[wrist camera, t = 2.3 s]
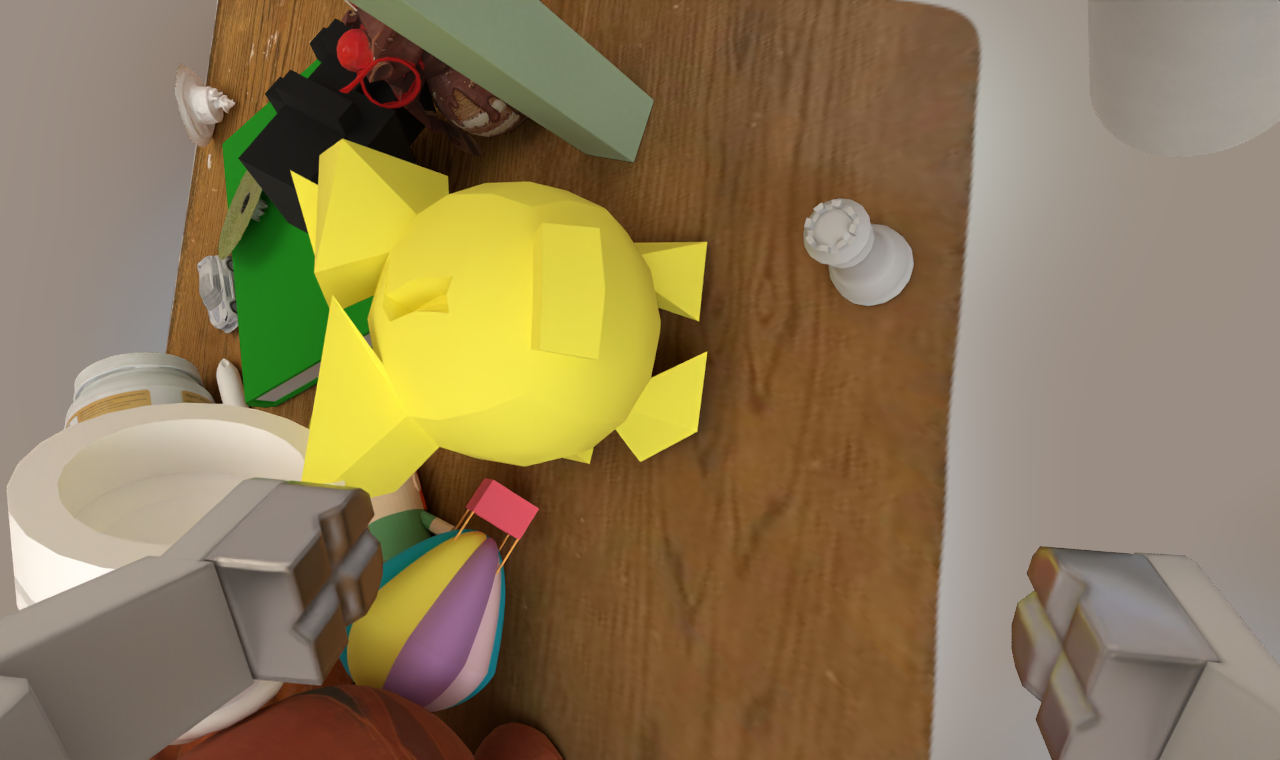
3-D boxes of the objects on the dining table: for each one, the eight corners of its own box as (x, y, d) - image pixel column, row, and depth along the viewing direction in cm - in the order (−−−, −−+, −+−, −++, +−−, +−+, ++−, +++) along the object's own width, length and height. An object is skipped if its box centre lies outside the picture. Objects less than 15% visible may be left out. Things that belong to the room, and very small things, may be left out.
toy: (344, -24, 52) (204, 131, 47) (444, 25, 51) (312, 188, 46) (389, 90, 63) (279, 224, 58) (472, 132, 62) (367, 272, 57)
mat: (248, 281, 65) (225, 272, 64) (232, 252, 74) (210, 244, 72) (300, 165, 64) (278, 154, 63) (277, 150, 73) (257, 140, 71)
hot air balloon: (465, 774, 42) (445, 712, 52) (601, 543, 46) (557, 527, 56) (291, 684, 39) (305, 638, 50) (451, 447, 44) (433, 450, 54)
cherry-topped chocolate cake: (496, 185, 57) (327, 100, 45) (458, 119, 61) (289, 23, 48) (578, 94, 54) (419, -25, 41) (532, 30, 57) (373, -99, 45)
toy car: (226, 338, 75) (196, 333, 73) (220, 269, 78) (190, 262, 75) (246, 324, 74) (216, 318, 71) (239, 254, 76) (210, 246, 73)
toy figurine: (478, 573, 56) (438, 428, 59) (457, 574, 52) (415, 418, 55) (379, 610, 56) (344, 463, 59) (350, 614, 52) (314, 455, 55)
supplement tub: (204, 562, 73) (182, 417, 80) (262, 506, 67) (233, 355, 74) (53, 575, 63) (42, 409, 70) (106, 510, 58) (89, 336, 64)
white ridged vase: (352, 416, 41) (320, 650, 48) (74, 389, 36) (85, 654, 43) (335, 576, 30) (297, 847, 37) (-64, 568, 25) (-19, 880, 33)
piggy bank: (495, 242, 57) (252, 144, 40) (725, 189, 47) (524, 29, 30) (487, 505, 54) (222, 513, 38) (730, 509, 44) (511, 523, 27)
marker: (225, 366, 75) (204, 360, 73) (239, 355, 74) (219, 349, 72) (266, 523, 68) (244, 522, 66) (282, 512, 67) (261, 510, 65)
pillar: (604, 94, 53) (339, -117, 34) (654, 100, 51) (398, -124, 32) (585, 154, 53) (311, -23, 35) (634, 163, 51) (367, -23, 32)
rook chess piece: (848, 320, 41) (800, 287, 35) (824, 250, 43) (773, 205, 36) (927, 288, 39) (892, 247, 33) (899, 216, 41) (860, 162, 34)
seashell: (246, 66, 80) (246, 131, 85) (193, 49, 78) (196, 116, 84) (220, 99, 74) (221, 166, 80) (162, 81, 73) (167, 151, 78)
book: (388, 38, 67) (360, 20, 65) (436, 316, 59) (406, 309, 57) (247, 157, 78) (219, 146, 75) (272, 408, 70) (241, 405, 67)
